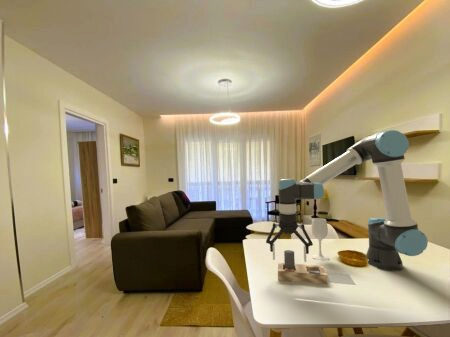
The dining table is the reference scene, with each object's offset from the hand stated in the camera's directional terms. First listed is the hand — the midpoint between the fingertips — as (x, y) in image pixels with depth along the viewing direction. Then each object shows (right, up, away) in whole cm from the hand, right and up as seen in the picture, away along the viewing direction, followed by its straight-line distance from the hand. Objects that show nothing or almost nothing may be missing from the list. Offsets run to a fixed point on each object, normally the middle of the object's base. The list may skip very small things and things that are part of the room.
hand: (289, 259), depth 99 cm
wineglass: (+23, -8, +20) cm, 31 cm away
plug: (0, -7, 0) cm, 7 cm away
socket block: (+5, -7, -1) cm, 9 cm away
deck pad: (+21, -7, -4) cm, 22 cm away
